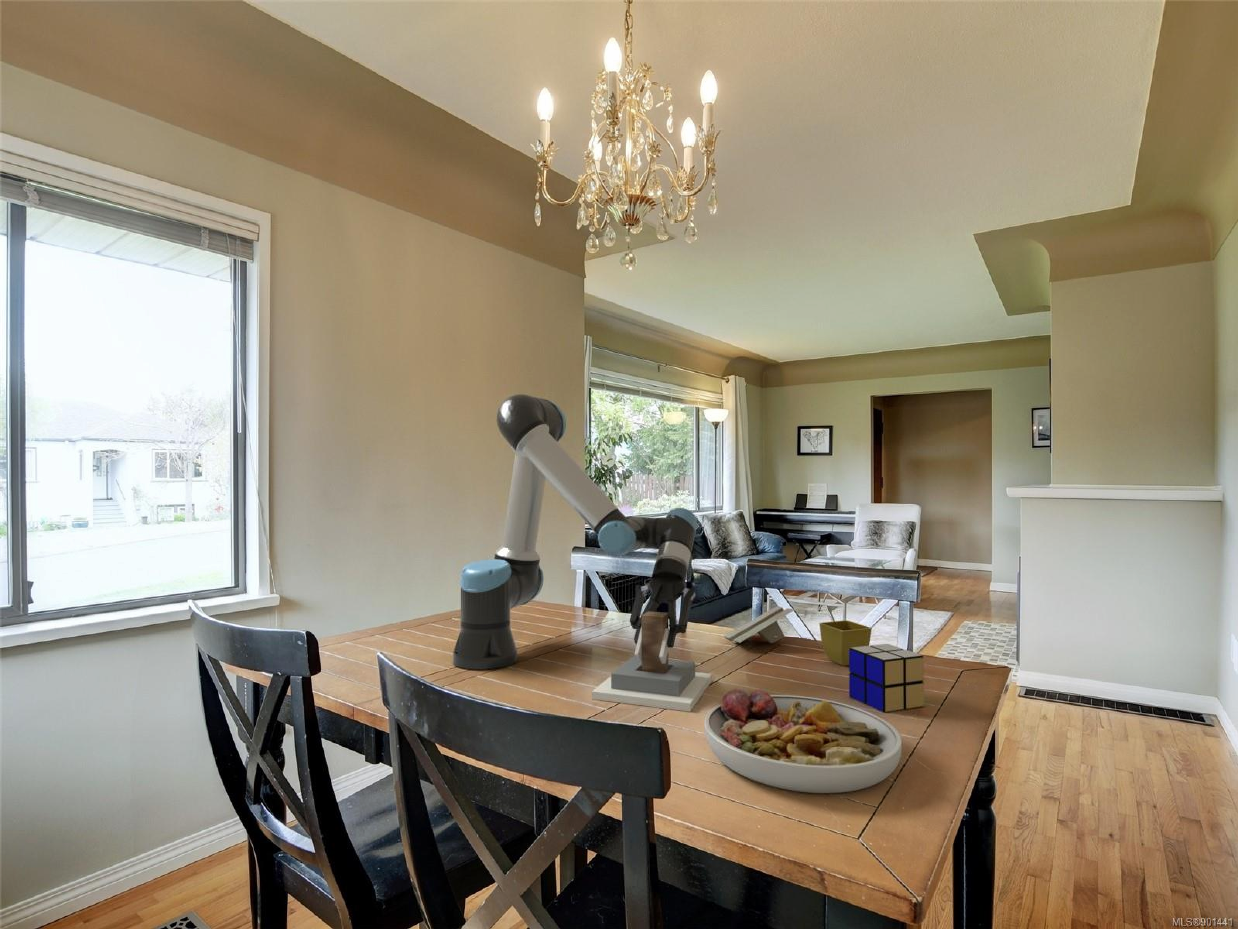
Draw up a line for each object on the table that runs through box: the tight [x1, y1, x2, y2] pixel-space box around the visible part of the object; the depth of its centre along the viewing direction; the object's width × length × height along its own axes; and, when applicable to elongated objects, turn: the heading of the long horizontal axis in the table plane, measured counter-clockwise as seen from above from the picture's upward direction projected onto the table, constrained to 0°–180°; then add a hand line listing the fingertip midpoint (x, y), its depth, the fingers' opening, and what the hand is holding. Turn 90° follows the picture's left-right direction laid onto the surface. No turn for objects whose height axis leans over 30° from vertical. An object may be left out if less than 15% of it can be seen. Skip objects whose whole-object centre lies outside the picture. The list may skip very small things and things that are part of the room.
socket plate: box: [591, 655, 713, 713], centre depth 137 cm, size 20×20×4 cm
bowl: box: [704, 689, 903, 794], centre depth 105 cm, size 30×30×8 cm
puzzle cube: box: [848, 643, 925, 714], centre depth 130 cm, size 10×10×10 cm
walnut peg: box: [641, 611, 669, 674], centre depth 137 cm, size 4×4×12 cm
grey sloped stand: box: [723, 605, 795, 644], centre depth 175 cm, size 19×10×17 cm
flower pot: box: [819, 620, 872, 667], centre depth 158 cm, size 9×9×9 cm
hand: (649, 658), depth 134 cm, fingers closed on walnut peg, 4 cm apart
